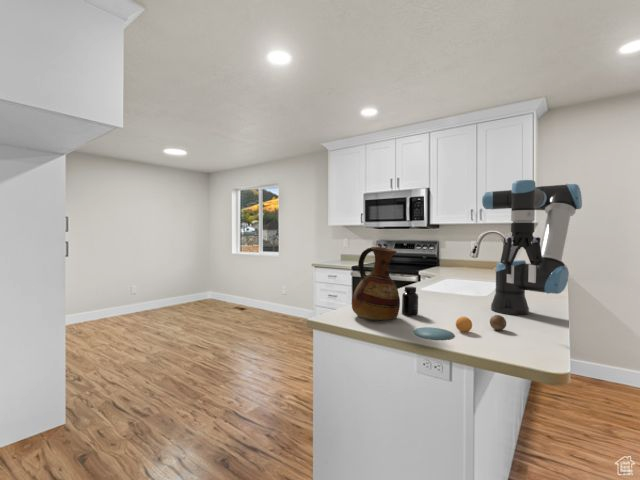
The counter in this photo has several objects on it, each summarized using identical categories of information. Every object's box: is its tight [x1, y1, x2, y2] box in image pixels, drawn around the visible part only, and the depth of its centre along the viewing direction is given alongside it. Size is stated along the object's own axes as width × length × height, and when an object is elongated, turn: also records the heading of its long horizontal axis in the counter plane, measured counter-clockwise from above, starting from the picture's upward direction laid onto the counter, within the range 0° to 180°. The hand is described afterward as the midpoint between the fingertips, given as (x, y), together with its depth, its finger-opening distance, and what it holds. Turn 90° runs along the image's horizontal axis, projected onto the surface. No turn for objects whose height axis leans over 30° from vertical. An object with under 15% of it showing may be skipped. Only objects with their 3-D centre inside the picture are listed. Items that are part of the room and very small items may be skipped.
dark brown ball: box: [489, 314, 507, 331], centre depth 125 cm, size 6×6×6 cm
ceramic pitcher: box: [351, 245, 401, 321], centre depth 141 cm, size 20×20×30 cm
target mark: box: [412, 326, 455, 341], centre depth 120 cm, size 14×14×1 cm
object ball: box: [455, 316, 473, 333], centre depth 122 cm, size 6×6×6 cm
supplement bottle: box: [401, 285, 419, 317], centre depth 147 cm, size 7×7×12 cm
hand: (521, 282), depth 126 cm, fingers open, 9 cm apart
